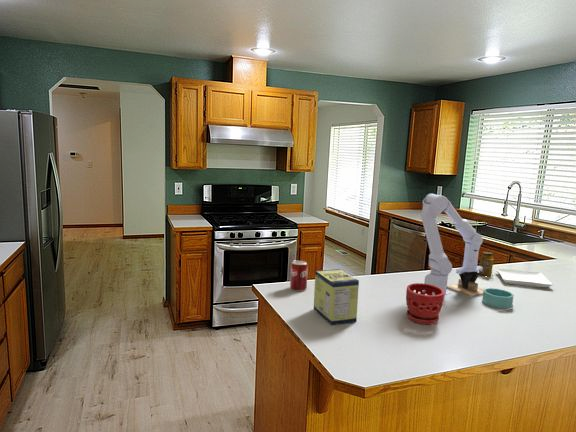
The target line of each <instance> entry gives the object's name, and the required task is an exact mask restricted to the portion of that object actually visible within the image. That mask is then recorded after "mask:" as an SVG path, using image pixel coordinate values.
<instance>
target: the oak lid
mask: <svg viewBox="0 0 576 432" xmlns="http://www.w3.org/2000/svg"><path fill="white" fill-rule="evenodd" d="M447 289H450V290H452V291H455V292H457V293H460V294H462V295H465V296H467V297H473V296H478V295H483V291H484V288H483V289H482V288H480V287H479V283H477V282H475V283H474V282H472V281H469V283H468V288H467V289H465V288H463V287H462V281H461V278H459V279H458V283H457V284H451V285H450V284H449V285H447ZM450 290H449V291H450ZM452 291H451V292H452ZM455 292H454V293H455ZM457 293H456V294H457ZM460 294H459V295H460ZM462 295H461V296H462ZM465 296H464V297H465ZM467 297H466V298H467Z"/></svg>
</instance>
